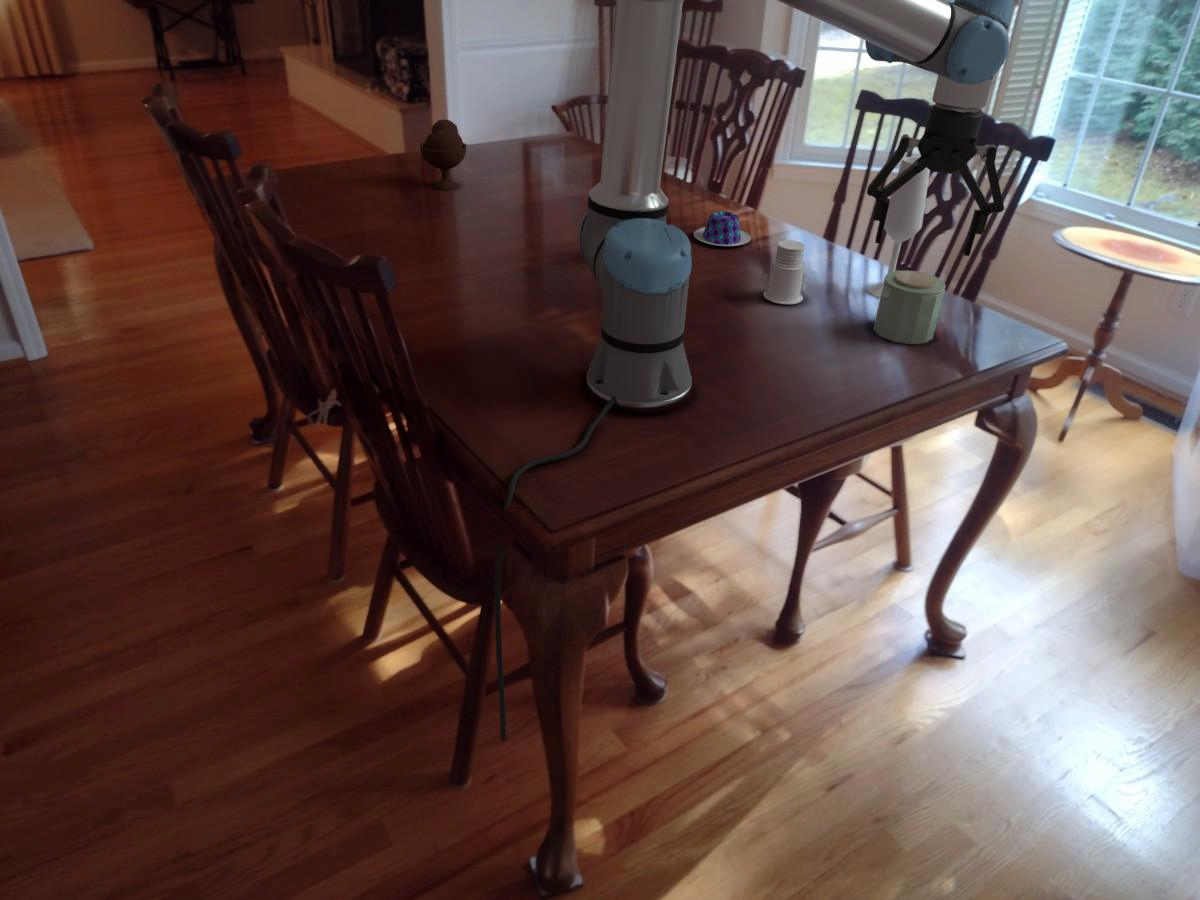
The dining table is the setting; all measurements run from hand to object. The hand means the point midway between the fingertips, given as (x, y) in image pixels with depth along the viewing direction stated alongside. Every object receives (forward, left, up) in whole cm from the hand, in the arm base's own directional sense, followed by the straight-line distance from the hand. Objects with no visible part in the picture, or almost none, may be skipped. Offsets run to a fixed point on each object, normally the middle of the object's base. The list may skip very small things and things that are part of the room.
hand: (921, 247), depth 139 cm
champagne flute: (+17, +3, -15) cm, 23 cm away
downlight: (+7, +21, -15) cm, 27 cm away
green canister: (0, 0, -15) cm, 15 cm away
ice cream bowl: (+46, +106, -15) cm, 116 cm away
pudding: (+34, +37, -15) cm, 52 cm away
